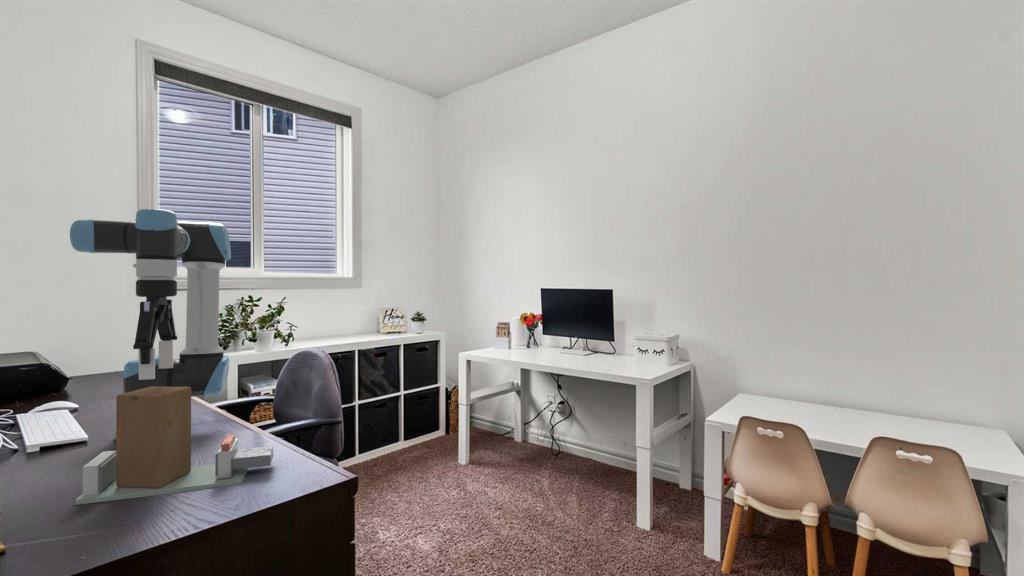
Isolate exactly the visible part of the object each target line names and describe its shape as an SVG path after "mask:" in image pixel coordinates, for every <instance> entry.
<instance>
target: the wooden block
mask: <svg viewBox="0 0 1024 576" xmlns="http://www.w3.org/2000/svg"><path fill="white" fill-rule="evenodd" d="M115 404H116V407H115V408H116V410H115V411H116V412H115V413H116V417H115V418H116V420H115V422H116V423H115V424H116V429H115V442H116V443H115V445H116V446H115V447H116V450H115V451H116V486H117V487H138V488H161V487H162V486H164V485H166V484H168V483H170V482H172V481H174V480H176V479H178V478H179V477H181V476H183V475H185V474H187V473H189V472H190V471H191V466H192V397H191V387H170V386H150V387H147V388H143V389H139V390H135V391H131V392H127V393H120V394H117V395H116V402H115Z"/></svg>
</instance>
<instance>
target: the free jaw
mask: <svg viewBox="0 0 1024 576" xmlns="http://www.w3.org/2000/svg"><path fill="white" fill-rule="evenodd" d="M214 458H215V461H214V464H215V476H218V479H221V478H230V477H231V476H232V474H233V472H234V470H235V469H244V468H248V469H250V468H251V469H252V468H260V467H268V466H269V467H271V465H272V463H273V458H274V445H270V446H260V447H250V448H249V447H247V448H239V438H238V437H237V438H236V433H230V434H227V435H226V436H225V438H224V439H223V441H222V443H220V446H219V448H218V449H217V451H216V453H215V457H214Z"/></svg>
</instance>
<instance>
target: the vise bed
mask: <svg viewBox="0 0 1024 576" xmlns="http://www.w3.org/2000/svg"><path fill="white" fill-rule="evenodd" d="M248 469H249V468H244V469H235V470H234V472H233V474H232V476H231V477H230V478H221V479H218V476H215V463H208V464H201V465H199V464H198V465H191V471H190V472H189V473H187V474H185V475H183V476H181V477H179V478H178V479H176V480H174V481H172V482H170V483H168V484H166V485H164V486H162V487H161V488H138V487H117V486H116V450H106V451H102V452H100V453H99V454H98V455H97V456H95V457H94V458H93V459H91V460H90V461H89V462H87V463H86V464H84V465H83V466H82V493H81V495H80V496H78V497H77V498H76V499H75V501H74V502H75V503H74V504H75V506H76V505H77V506H78V505H84V504H92V503H93V504H95V503H103V502H110V501H119V500H126V499H127V500H128V499H134V498H136V499H137V498H144V497H145V498H146V497H151V496H152V497H153V496H159V495H167V494H175V493H181V492H189V491H196V490H205V489H209V488H217V487H218V488H219V487H223V486H226V487H227V486H233V485H238V484H243V481H244V479H245V476H246V474H247V471H248Z"/></svg>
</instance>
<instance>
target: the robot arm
mask: <svg viewBox="0 0 1024 576" xmlns="http://www.w3.org/2000/svg"><path fill="white" fill-rule="evenodd" d="M177 220H178V218H177V214H176V213H175V212H174V211H172V210H167V209H160V208H158V209H157V208H141V209H139V210H137V211H136V214H135V221H122V220H121V221H120V220H102V219H101V220H100V219H99V220H97V219H77V220H75V221H73V223H72V224H71V226H70V229H69V240H70V244H71V247H72V248H73V249H74V250H75V251H76V252H80V253H89V254H135V263H133V265H132V266H133V268H134V269H135V276H136V277H137V278H139V279H137V280H136V281H135V295H136V297H140V298H144V297H145V301H140V302H139V314H138V321H137V326H136V333H135V339H134V344H133V345H132V346H133V347H132V348H133V350H138V358H137V359H132V360H129V361H128V362H126V363H125V364H124V367H123V376H122V379H123V381H122V383H123V384H122V386H123V387H122V388H123V389H122V392H123V393H127V392H131V391H135V390H139V389H143V388H147V387H150V386H170V387H191V398H193V397H194V398H196V397H204V398H206V397H208V396H217V395H220V394H221V393H223V391H224V390H225V387H226V384H227V382H228V377H229V376H228V375H229V370H230V359H229V357H228V356H224V350H223V349H221V348H220V347H219V319H220V318H219V317H220V316H219V314H220V312H219V311H220V272H221V270H222V269H223V268H225V266H226V261H229V260H231V259H232V249H231V241H230V236H229V233H228V230H227V228H226V226H225V225H224V224H222V223H220V222H219V223H218V222H209V221H207V222H205V221H182V220H181V221H180V220H179V221H177ZM178 260H181V265H182V266H183V267H184V268H185V269H186V271H187V277H186V279H187V280H186V281H187V282H186V316H185V319H186V320H185V321H186V323H185V347H184V349H182V351H180V352H179V358H177V359H176V358H175V359H174V341H177V339H178V335H176V334H177V332H176V327H175V322H174V320H175V319H174V313H173V306H172V303H173V300H172V299H171V297H176V296H177V295H178V281H177V280H176V279H175V278H177V277H178ZM167 297H168V298H167ZM169 297H170V299H169ZM157 333H158V336H159V339H160V340H159V341H158V355H156V348H155V347H154V345H155V340H156V338H157V337H156V336H157ZM123 393H122V394H123Z"/></svg>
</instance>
